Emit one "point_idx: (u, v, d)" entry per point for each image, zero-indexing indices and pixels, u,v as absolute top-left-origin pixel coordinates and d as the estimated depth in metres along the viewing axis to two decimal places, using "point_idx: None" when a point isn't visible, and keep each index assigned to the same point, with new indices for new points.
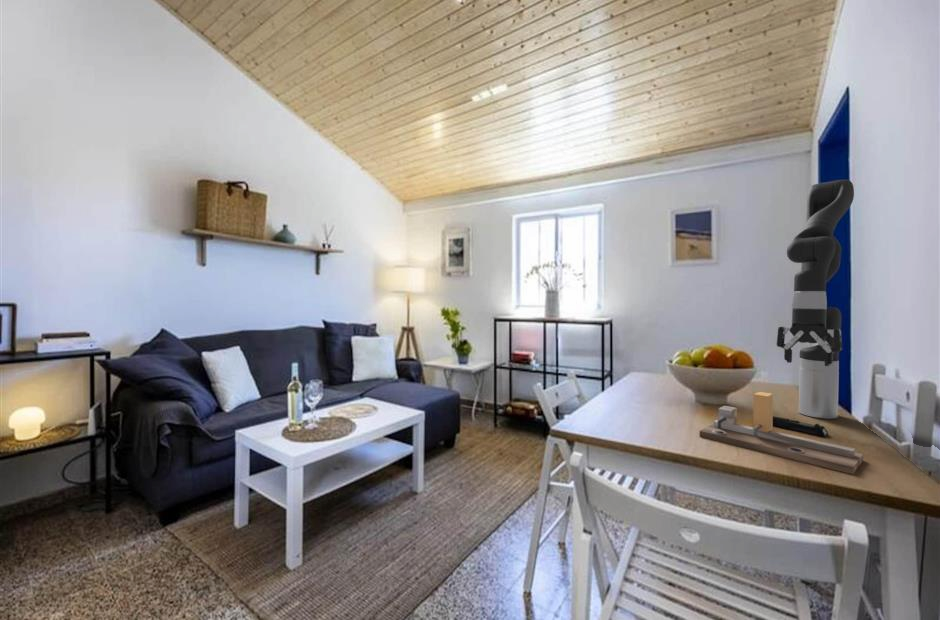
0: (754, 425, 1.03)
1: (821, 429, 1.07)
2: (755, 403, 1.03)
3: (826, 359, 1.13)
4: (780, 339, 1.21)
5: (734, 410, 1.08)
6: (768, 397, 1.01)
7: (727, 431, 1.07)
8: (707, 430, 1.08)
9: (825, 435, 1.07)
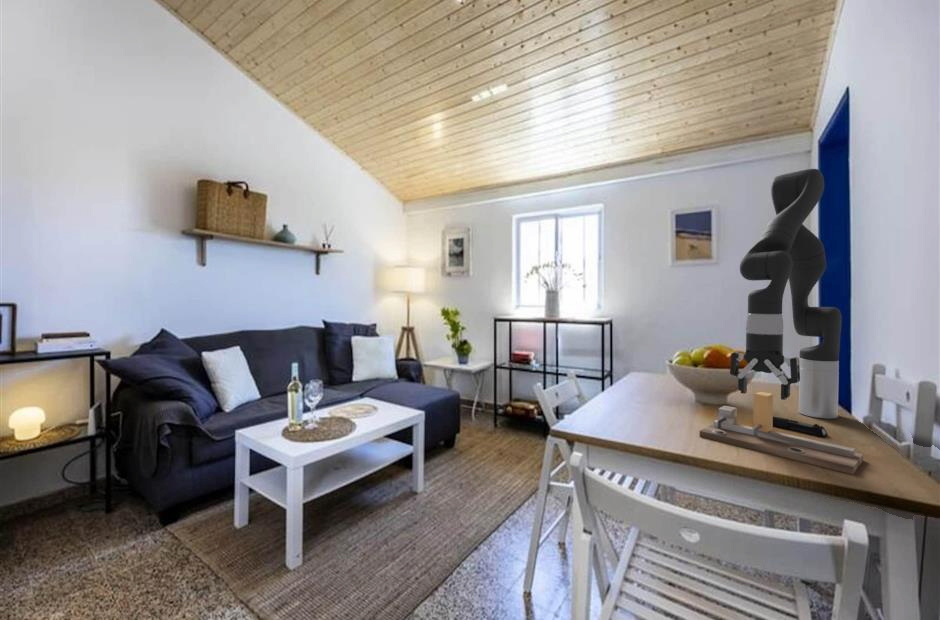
0: (754, 425, 1.03)
1: (820, 429, 1.07)
2: (755, 403, 1.03)
3: (782, 392, 0.99)
4: (733, 367, 1.07)
5: (734, 410, 1.08)
6: (768, 397, 1.01)
7: (727, 431, 1.07)
8: (707, 430, 1.08)
9: (824, 435, 1.07)
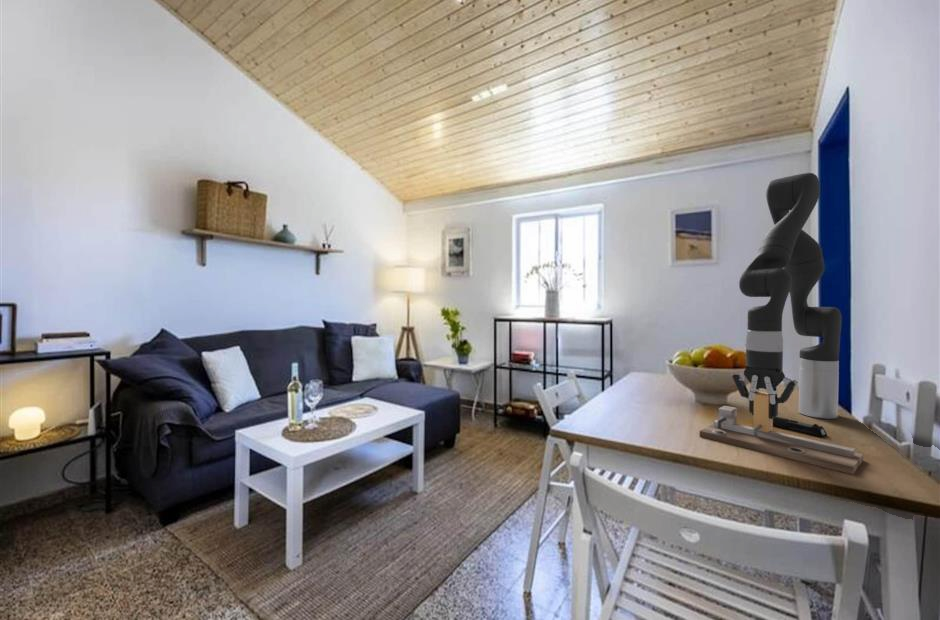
0: (754, 425, 1.03)
1: (820, 430, 1.07)
2: (755, 403, 1.03)
3: (770, 411, 1.01)
4: (741, 388, 1.06)
5: (734, 410, 1.08)
6: (768, 397, 1.01)
7: (727, 431, 1.07)
8: (707, 430, 1.08)
9: (823, 435, 1.07)
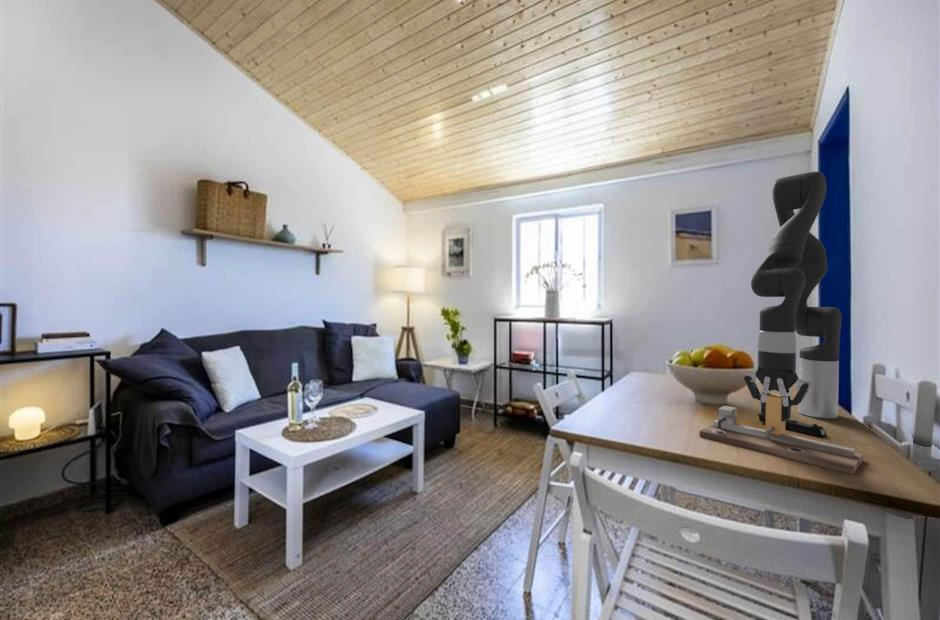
0: (766, 428, 1.01)
1: (819, 429, 1.07)
2: (767, 405, 1.01)
3: (783, 413, 0.99)
4: (752, 390, 1.04)
5: (734, 410, 1.08)
6: (781, 399, 0.99)
7: (727, 431, 1.07)
8: (707, 430, 1.08)
9: (823, 435, 1.07)
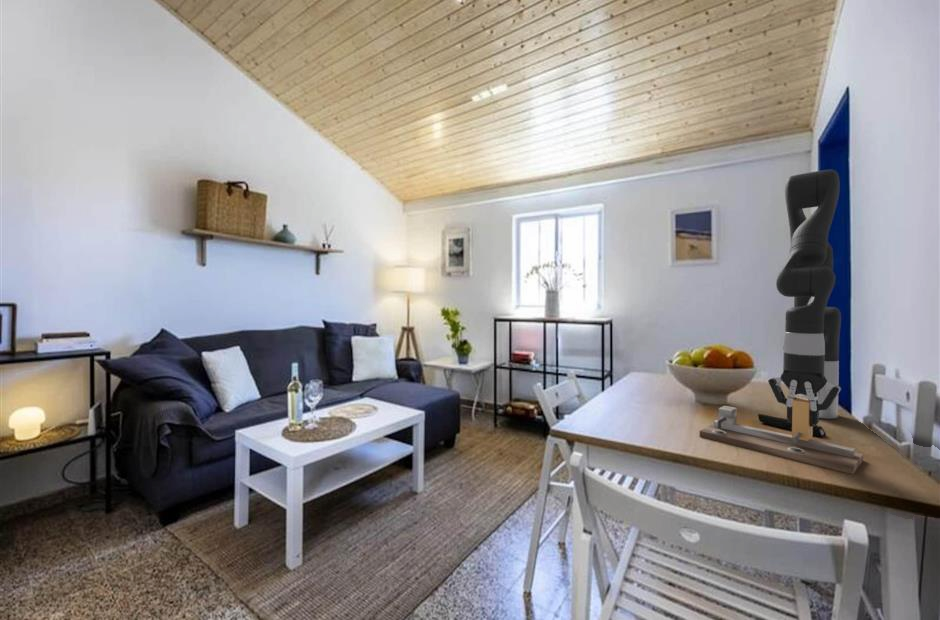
0: (793, 433, 0.97)
1: (819, 430, 1.07)
2: (794, 410, 0.96)
3: (811, 418, 0.95)
4: (778, 393, 1.00)
5: (734, 410, 1.08)
6: (809, 403, 0.95)
7: (727, 431, 1.07)
8: (707, 430, 1.08)
9: (822, 435, 1.07)
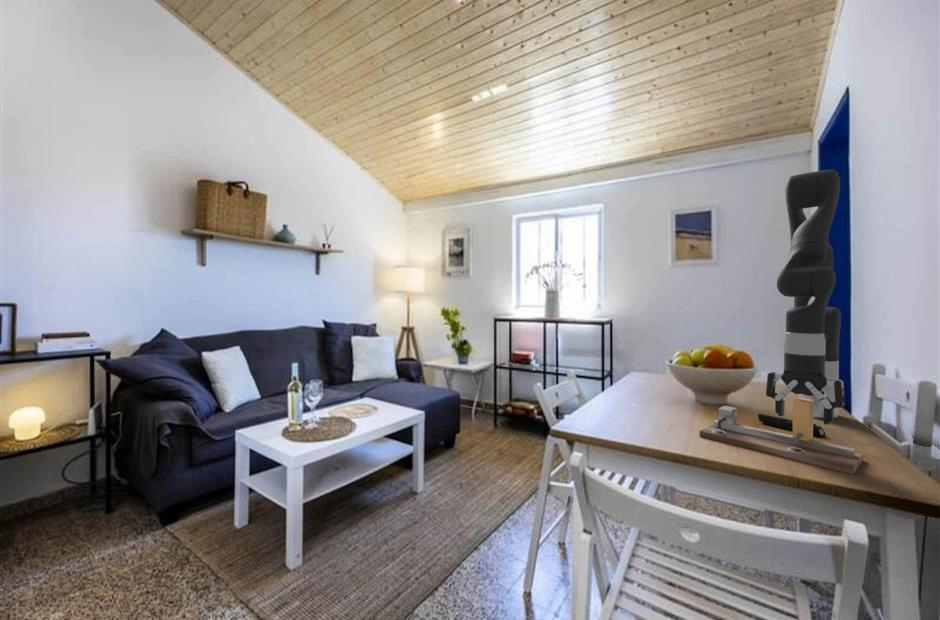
0: (793, 433, 0.97)
1: (818, 429, 1.07)
2: (795, 410, 0.96)
3: (825, 416, 0.93)
4: (770, 388, 1.01)
5: (734, 410, 1.08)
6: (809, 403, 0.95)
7: (727, 431, 1.07)
8: (707, 430, 1.08)
9: (822, 435, 1.07)
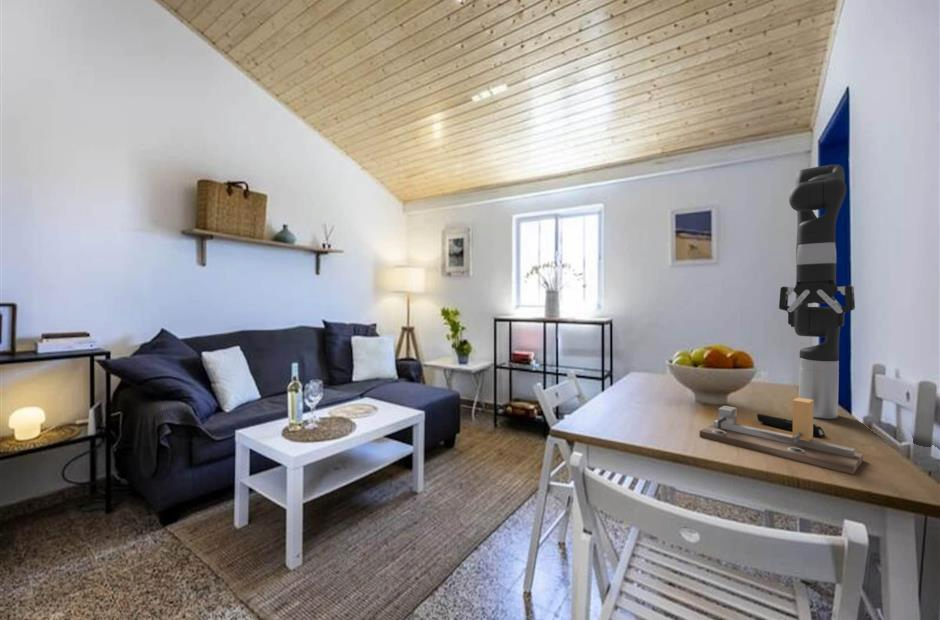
0: (793, 433, 0.97)
1: (817, 430, 1.07)
2: (795, 410, 0.96)
3: (836, 321, 0.98)
4: (783, 301, 1.06)
5: (734, 410, 1.08)
6: (809, 403, 0.95)
7: (727, 431, 1.07)
8: (707, 430, 1.08)
9: (821, 435, 1.06)
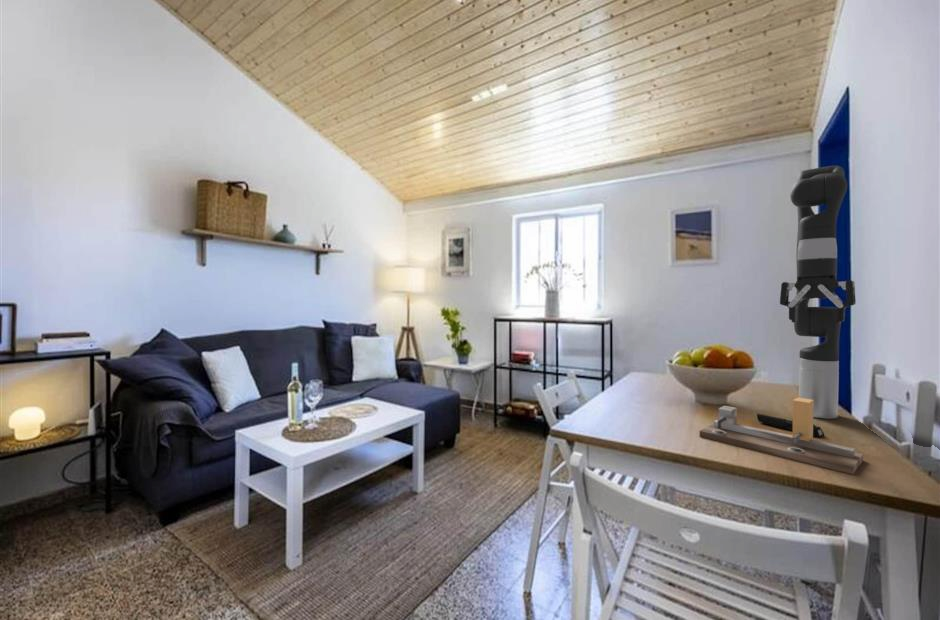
0: (793, 433, 0.97)
1: (817, 430, 1.07)
2: (795, 410, 0.96)
3: (837, 316, 0.98)
4: (784, 296, 1.06)
5: (734, 410, 1.08)
6: (809, 403, 0.95)
7: (727, 431, 1.07)
8: (707, 430, 1.08)
9: (820, 436, 1.06)
